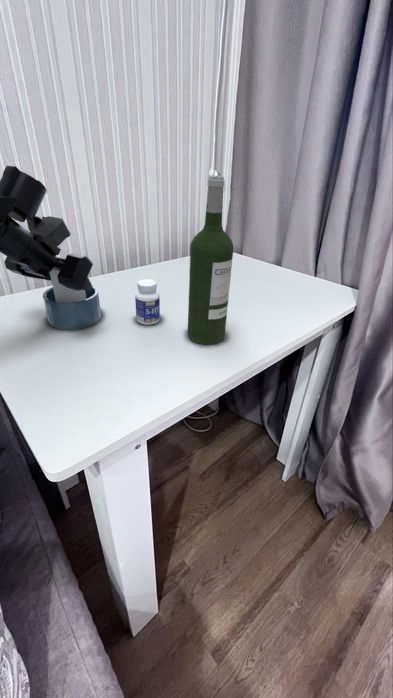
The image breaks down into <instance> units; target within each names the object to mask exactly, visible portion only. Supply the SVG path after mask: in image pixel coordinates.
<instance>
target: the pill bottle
mask: <svg viewBox="0 0 393 698" xmlns="http://www.w3.org/2000/svg"><path fill="white" fill-rule="evenodd" d="M157 285H158V284H157V281H156V280H154V279H148V278H146V279H145V278H144V279H140V280H138V281H137V291H136V292H135V295H134V299H135V317H136V319H135V320H136V321H137V322H138V323H139V324H141V325H145V326H146V325H155V324H157V323H158V322H160V320H161V301H160V299H161V296H160V292H159V291H158V290H157V288H158V287H157Z"/></svg>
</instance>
